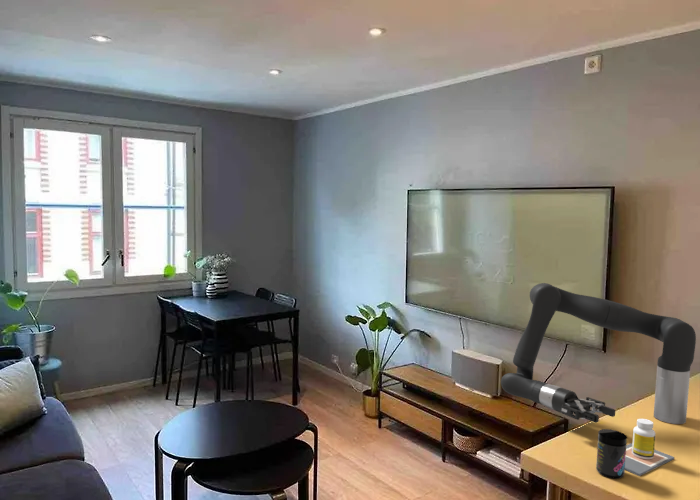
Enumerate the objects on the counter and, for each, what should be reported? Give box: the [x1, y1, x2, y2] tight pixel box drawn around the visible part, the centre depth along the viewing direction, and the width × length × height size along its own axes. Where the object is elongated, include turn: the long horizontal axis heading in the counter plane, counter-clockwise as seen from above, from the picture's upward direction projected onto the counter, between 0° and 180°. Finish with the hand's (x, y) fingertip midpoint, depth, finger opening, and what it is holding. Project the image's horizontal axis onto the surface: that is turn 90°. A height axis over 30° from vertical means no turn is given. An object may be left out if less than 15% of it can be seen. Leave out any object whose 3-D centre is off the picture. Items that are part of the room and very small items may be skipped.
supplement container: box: [595, 428, 628, 480], centre depth 138 cm, size 7×7×10 cm
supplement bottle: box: [631, 418, 656, 459], centre depth 147 cm, size 5×5×10 cm
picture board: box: [625, 442, 675, 477], centre depth 147 cm, size 18×11×1 cm, turn 124°
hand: (606, 416), depth 156 cm, fingers open, 8 cm apart
